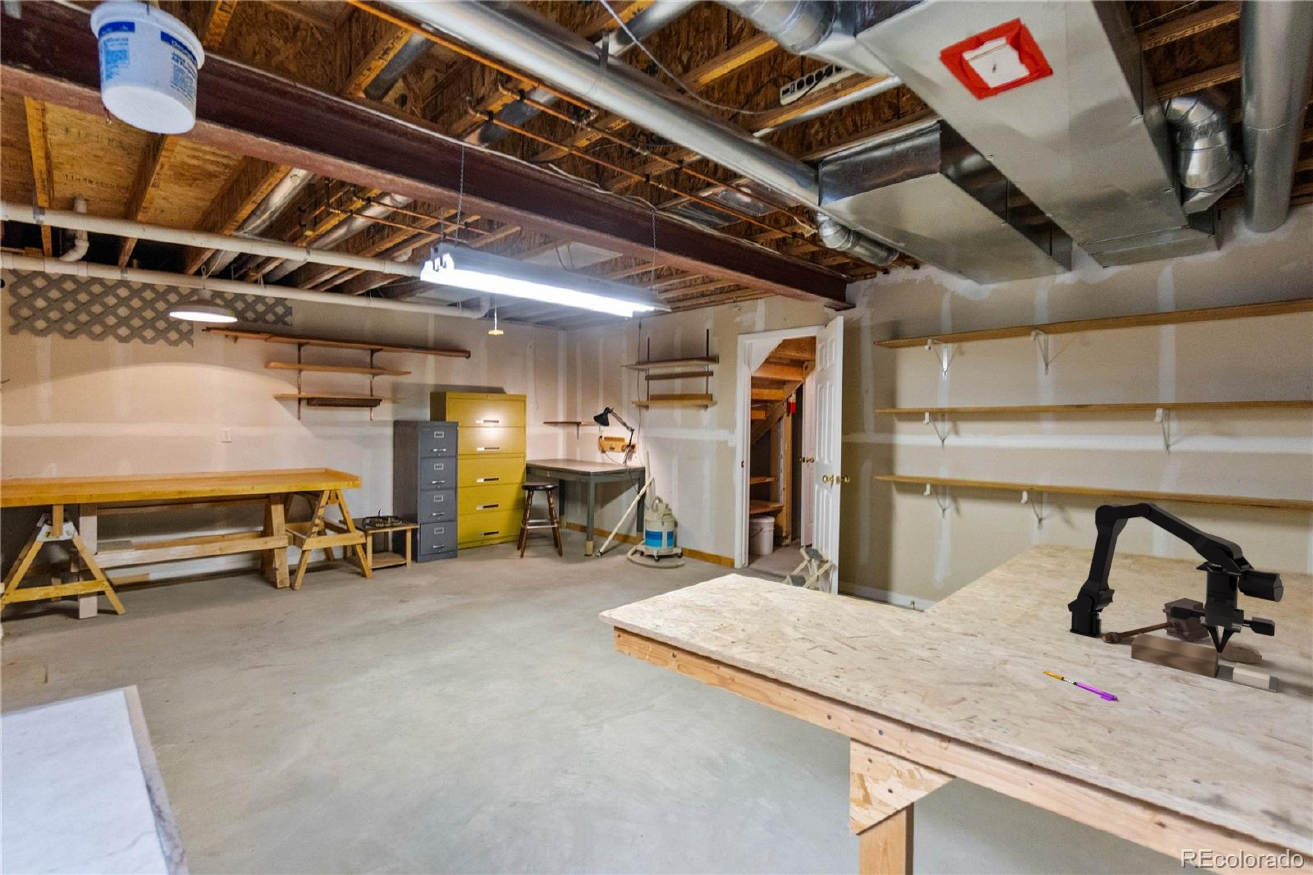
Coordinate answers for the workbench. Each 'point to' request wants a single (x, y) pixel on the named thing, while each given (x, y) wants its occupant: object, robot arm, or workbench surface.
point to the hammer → (1170, 625)
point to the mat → (1227, 674)
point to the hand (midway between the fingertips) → (1219, 652)
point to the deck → (1175, 654)
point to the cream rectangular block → (1252, 675)
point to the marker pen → (1104, 695)
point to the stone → (1239, 652)
